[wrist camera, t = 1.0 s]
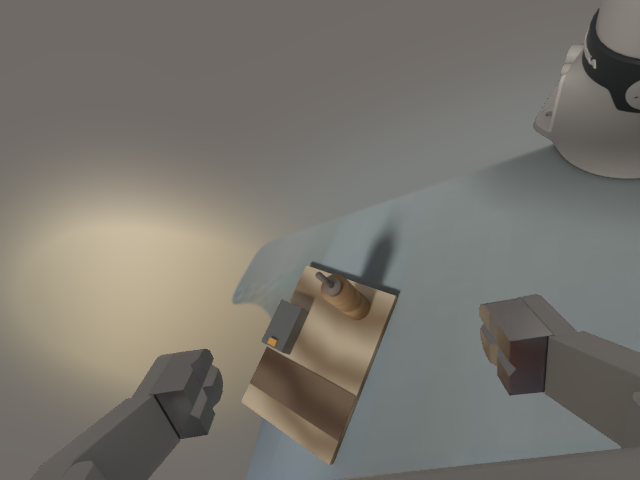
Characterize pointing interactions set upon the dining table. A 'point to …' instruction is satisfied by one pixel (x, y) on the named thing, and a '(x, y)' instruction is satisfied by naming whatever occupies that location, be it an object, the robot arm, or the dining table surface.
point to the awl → (344, 295)
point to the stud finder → (285, 327)
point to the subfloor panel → (320, 368)
